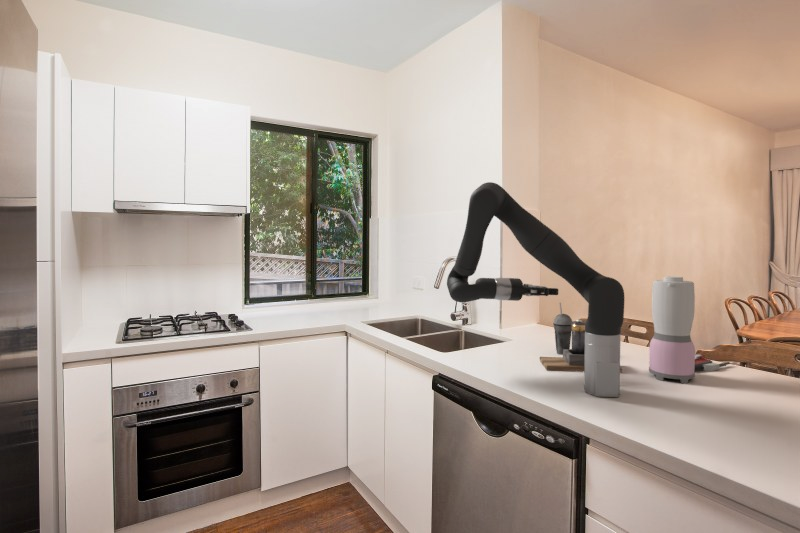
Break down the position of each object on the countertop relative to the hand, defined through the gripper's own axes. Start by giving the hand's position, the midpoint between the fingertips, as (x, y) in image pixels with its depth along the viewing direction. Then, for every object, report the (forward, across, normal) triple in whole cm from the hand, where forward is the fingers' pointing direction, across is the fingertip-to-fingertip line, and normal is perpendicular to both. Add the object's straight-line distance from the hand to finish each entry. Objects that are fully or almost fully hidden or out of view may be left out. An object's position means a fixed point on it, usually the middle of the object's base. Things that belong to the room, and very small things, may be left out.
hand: (551, 290), depth 143 cm
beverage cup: (+15, +19, +26) cm, 35 cm away
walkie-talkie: (+52, -6, +25) cm, 58 cm away
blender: (+35, -13, +25) cm, 45 cm away
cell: (+12, +1, +25) cm, 27 cm away
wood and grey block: (+12, +1, +26) cm, 29 cm away
